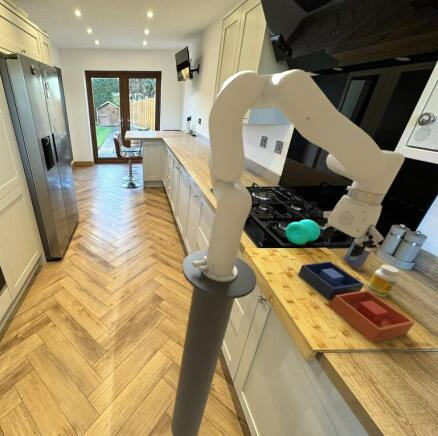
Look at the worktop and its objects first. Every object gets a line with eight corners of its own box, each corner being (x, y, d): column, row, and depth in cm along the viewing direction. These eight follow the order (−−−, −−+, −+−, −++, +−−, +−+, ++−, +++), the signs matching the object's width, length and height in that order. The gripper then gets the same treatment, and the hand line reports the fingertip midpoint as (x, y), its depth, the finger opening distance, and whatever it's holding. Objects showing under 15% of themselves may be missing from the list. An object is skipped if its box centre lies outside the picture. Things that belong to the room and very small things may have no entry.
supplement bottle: (371, 284, 82) (384, 261, 77) (390, 294, 77) (405, 271, 73) (362, 288, 80) (375, 265, 75) (382, 299, 75) (397, 275, 71)
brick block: (369, 325, 65) (376, 314, 63) (353, 313, 69) (359, 302, 67) (381, 323, 66) (388, 312, 64) (365, 311, 70) (371, 300, 68)
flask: (362, 271, 88) (375, 247, 83) (353, 270, 89) (365, 246, 84) (350, 257, 96) (361, 235, 91) (342, 256, 97) (352, 233, 92)
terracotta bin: (371, 342, 61) (379, 330, 59) (329, 306, 72) (335, 295, 70) (406, 334, 64) (415, 322, 62) (360, 300, 74) (367, 289, 72)
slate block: (328, 288, 78) (333, 278, 76) (317, 279, 82) (321, 269, 80) (338, 286, 79) (344, 276, 77) (327, 278, 83) (331, 268, 81)
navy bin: (328, 299, 74) (333, 289, 72) (298, 274, 85) (302, 264, 83) (358, 294, 77) (364, 284, 75) (325, 271, 87) (329, 261, 85)
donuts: (281, 238, 108) (288, 218, 104) (295, 234, 112) (302, 215, 108) (302, 249, 100) (310, 229, 96) (316, 244, 104) (325, 225, 100)
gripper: (327, 186, 73) (306, 233, 80) (389, 208, 58) (357, 264, 65) (345, 185, 74) (324, 232, 82) (411, 208, 59) (377, 262, 67)
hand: (338, 246), depth 74 cm, fingers open, 9 cm apart
